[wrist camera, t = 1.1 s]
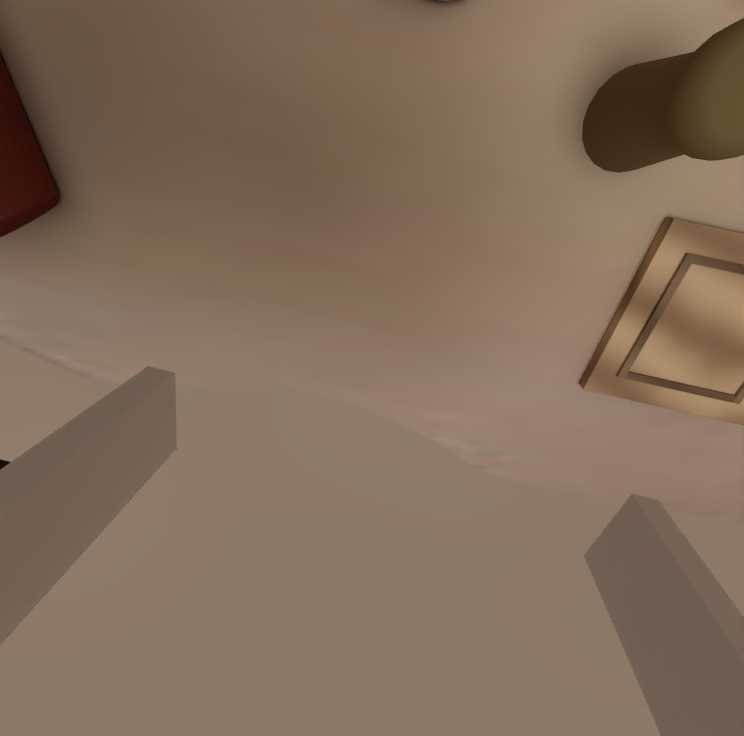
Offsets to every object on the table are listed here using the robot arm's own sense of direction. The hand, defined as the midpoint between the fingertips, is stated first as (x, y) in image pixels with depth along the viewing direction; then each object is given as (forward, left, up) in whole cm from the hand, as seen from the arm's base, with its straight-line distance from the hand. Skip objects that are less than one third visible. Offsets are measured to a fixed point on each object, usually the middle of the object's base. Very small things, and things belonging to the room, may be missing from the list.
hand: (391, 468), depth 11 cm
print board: (-1, +24, -23) cm, 33 cm away
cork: (-13, +12, -23) cm, 29 cm away
